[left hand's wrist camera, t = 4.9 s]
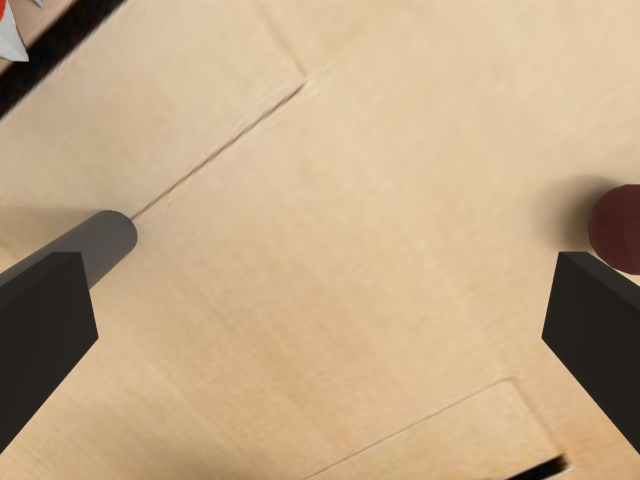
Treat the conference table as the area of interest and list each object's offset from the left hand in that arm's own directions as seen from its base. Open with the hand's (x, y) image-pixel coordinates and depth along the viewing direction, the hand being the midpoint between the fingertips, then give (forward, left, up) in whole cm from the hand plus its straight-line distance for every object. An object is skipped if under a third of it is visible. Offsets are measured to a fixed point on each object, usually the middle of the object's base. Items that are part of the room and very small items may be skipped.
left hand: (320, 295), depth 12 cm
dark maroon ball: (+6, +27, -28) cm, 39 cm away
